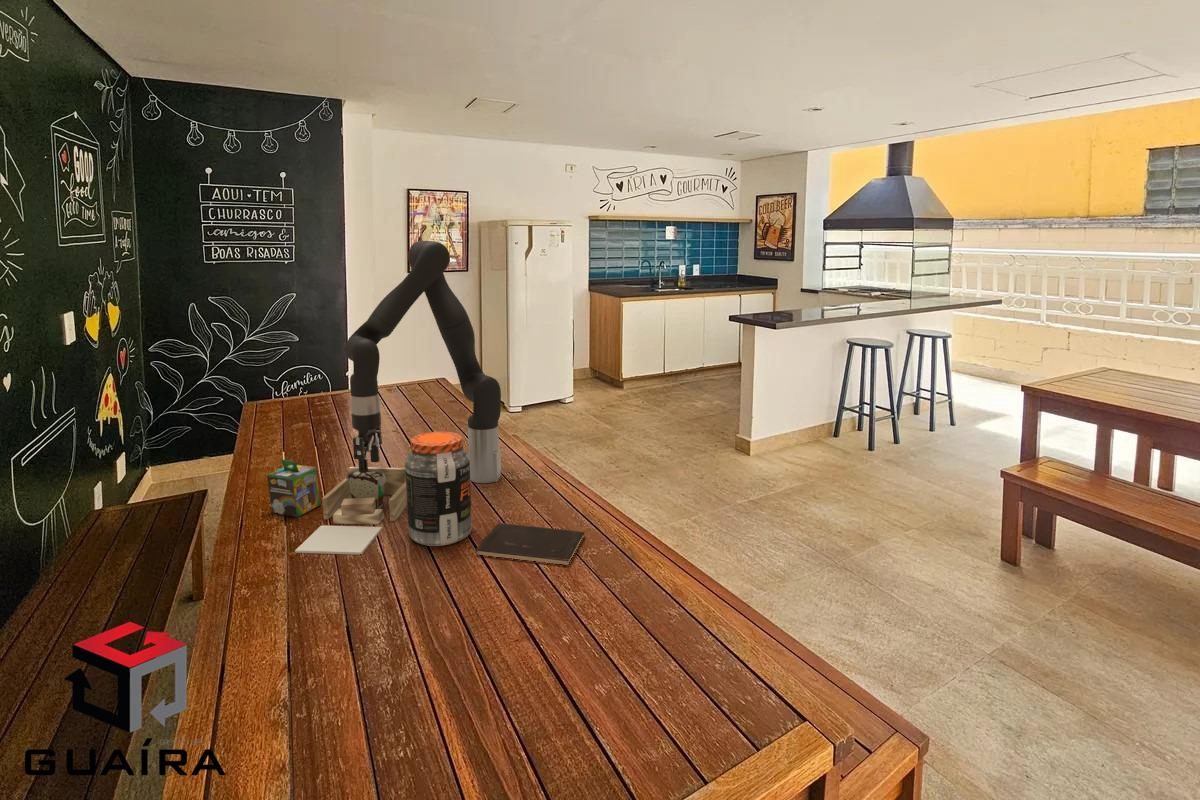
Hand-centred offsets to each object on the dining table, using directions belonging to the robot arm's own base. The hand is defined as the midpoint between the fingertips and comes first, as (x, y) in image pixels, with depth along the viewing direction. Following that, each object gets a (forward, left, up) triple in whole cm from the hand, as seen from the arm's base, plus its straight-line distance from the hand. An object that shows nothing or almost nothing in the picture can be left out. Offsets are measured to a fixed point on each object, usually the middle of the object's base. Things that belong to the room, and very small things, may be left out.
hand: (369, 466), depth 182 cm
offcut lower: (0, +10, -12) cm, 16 cm away
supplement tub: (-24, +17, -12) cm, 32 cm away
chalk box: (+20, +4, -12) cm, 23 cm away
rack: (0, 0, -12) cm, 12 cm away
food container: (0, 0, -12) cm, 12 cm away
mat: (0, +22, -12) cm, 25 cm away
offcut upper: (0, +10, -9) cm, 13 cm away
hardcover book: (-48, +22, -12) cm, 54 cm away
